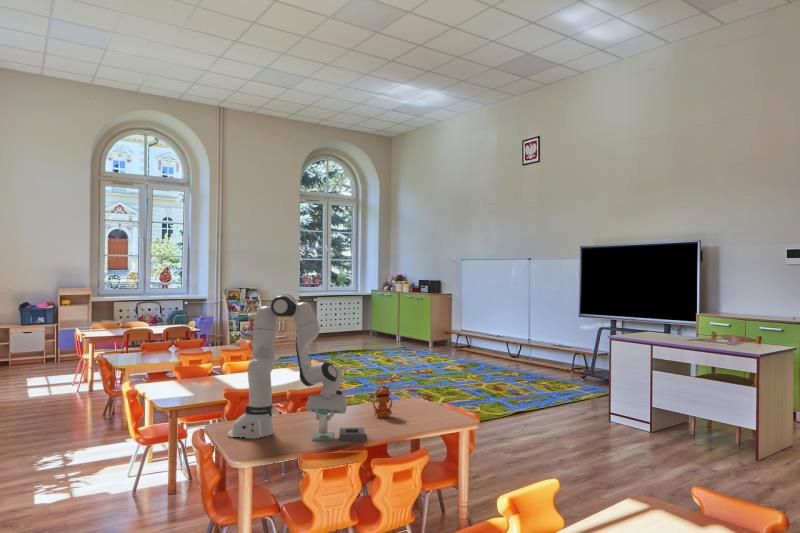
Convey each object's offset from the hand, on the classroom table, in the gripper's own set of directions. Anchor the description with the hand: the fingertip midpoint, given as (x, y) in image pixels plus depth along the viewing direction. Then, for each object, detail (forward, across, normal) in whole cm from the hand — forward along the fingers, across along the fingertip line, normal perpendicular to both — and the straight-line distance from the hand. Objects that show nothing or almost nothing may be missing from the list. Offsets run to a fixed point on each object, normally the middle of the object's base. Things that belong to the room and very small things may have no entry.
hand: (322, 419), depth 266 cm
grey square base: (+4, +14, +9) cm, 17 cm away
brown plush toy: (-27, +20, +41) cm, 53 cm away
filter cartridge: (+4, 0, +5) cm, 7 cm away
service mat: (+6, 0, +7) cm, 10 cm away
